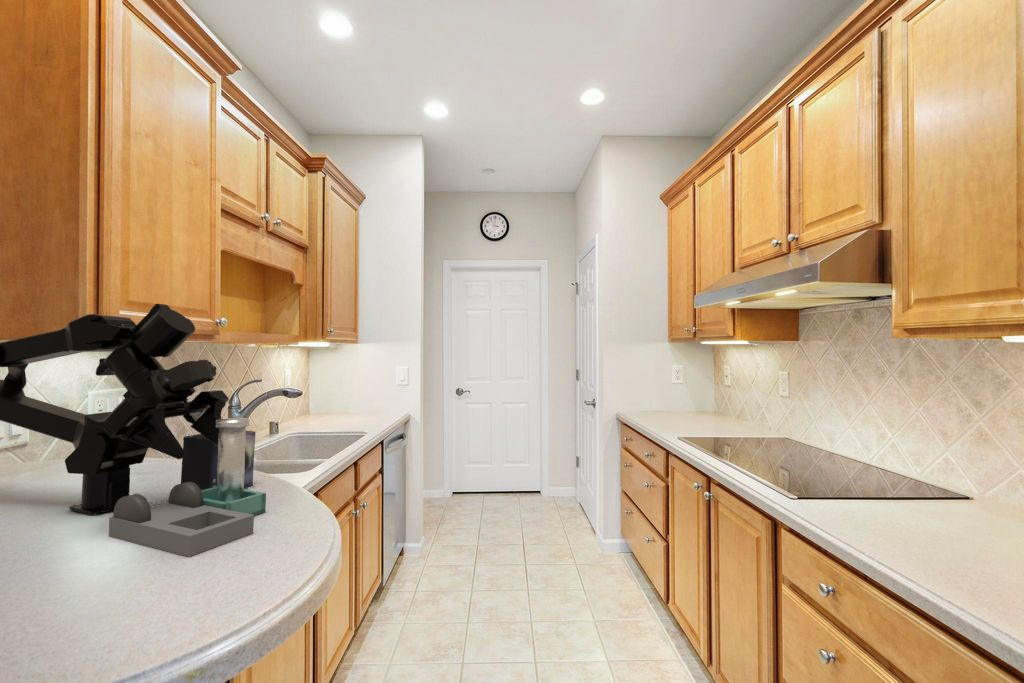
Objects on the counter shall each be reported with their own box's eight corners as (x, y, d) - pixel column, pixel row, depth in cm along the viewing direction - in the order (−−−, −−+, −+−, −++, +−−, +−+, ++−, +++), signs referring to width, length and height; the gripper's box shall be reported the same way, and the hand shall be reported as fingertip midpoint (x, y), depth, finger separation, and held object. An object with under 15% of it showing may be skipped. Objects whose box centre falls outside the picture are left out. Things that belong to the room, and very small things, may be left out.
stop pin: (206, 515, 73) (209, 421, 73) (224, 506, 77) (227, 417, 78) (235, 516, 73) (238, 422, 73) (251, 507, 77) (254, 418, 77)
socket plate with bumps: (108, 536, 66) (110, 493, 66) (176, 516, 74) (178, 479, 74) (189, 557, 59) (191, 510, 60) (253, 533, 68) (254, 492, 68)
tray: (179, 515, 74) (180, 495, 74) (220, 503, 80) (221, 485, 81) (225, 525, 70) (226, 504, 71) (265, 512, 77) (266, 493, 77)
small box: (210, 501, 82) (212, 438, 82) (177, 498, 83) (180, 436, 83) (255, 485, 92) (257, 430, 92) (225, 483, 93) (227, 428, 94)
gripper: (126, 340, 68) (195, 423, 66) (221, 344, 86) (277, 409, 85) (72, 395, 68) (139, 479, 67) (178, 387, 87) (232, 453, 85)
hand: (205, 451), depth 76 cm, fingers open, 9 cm apart
